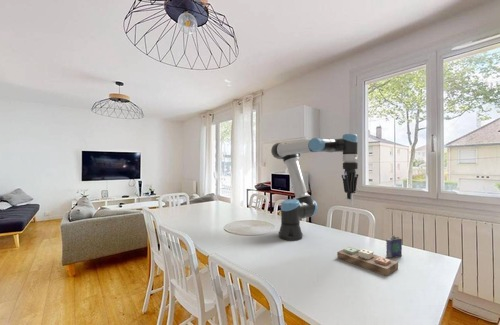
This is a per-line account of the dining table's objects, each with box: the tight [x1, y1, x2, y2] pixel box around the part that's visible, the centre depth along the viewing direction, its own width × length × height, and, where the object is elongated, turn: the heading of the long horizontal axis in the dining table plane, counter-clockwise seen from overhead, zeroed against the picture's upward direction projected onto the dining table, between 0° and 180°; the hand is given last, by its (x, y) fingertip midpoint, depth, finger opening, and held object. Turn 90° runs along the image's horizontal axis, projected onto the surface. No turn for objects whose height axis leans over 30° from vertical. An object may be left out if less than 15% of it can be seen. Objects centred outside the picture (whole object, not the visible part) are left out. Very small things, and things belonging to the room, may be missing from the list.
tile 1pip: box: [343, 246, 359, 255], centre depth 114 cm, size 4×4×3 cm
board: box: [336, 246, 399, 277], centre depth 108 cm, size 23×11×3 cm, turn 36°
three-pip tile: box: [375, 256, 392, 266], centre depth 102 cm, size 4×4×3 cm
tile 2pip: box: [359, 248, 374, 260], centre depth 108 cm, size 4×4×3 cm
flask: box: [385, 234, 403, 259], centre depth 116 cm, size 9×3×11 cm, turn 109°
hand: (350, 204), depth 126 cm, fingers closed
